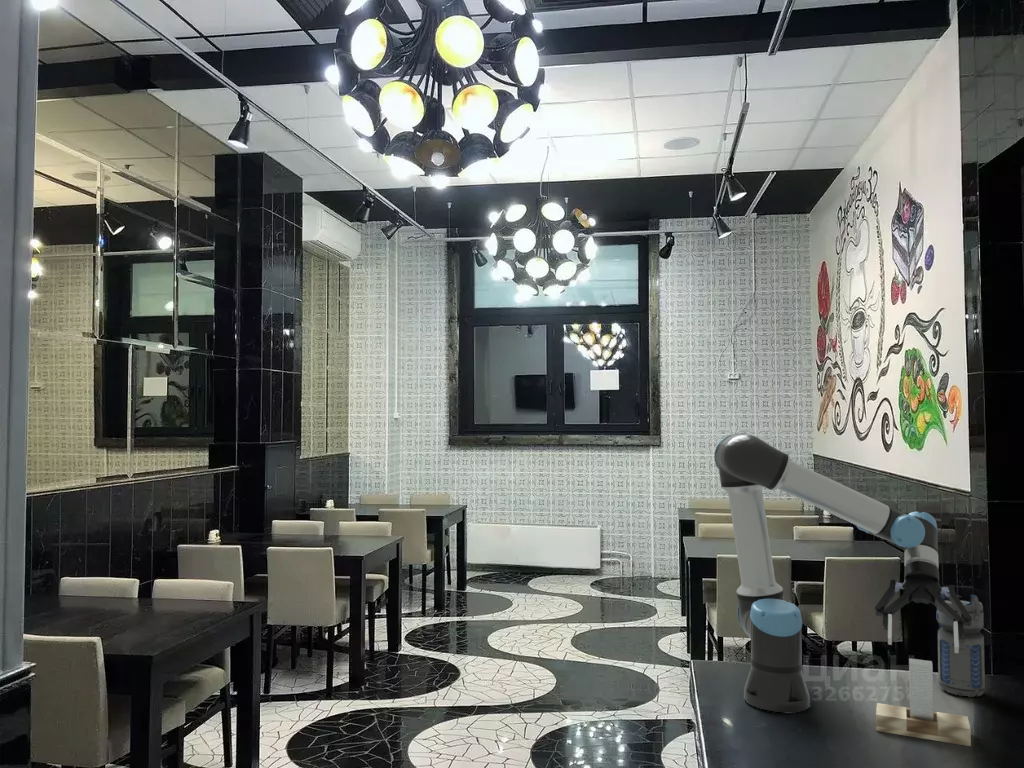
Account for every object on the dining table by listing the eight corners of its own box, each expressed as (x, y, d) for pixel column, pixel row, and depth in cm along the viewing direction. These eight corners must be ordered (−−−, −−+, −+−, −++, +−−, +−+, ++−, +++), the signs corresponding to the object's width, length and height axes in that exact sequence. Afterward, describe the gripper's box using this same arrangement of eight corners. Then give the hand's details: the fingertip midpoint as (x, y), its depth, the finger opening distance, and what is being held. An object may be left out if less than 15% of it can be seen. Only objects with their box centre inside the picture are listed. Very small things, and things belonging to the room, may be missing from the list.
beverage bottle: (955, 680, 206) (953, 584, 207) (997, 698, 193) (995, 595, 195) (922, 683, 204) (920, 586, 205) (962, 701, 191) (960, 597, 192)
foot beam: (876, 730, 173) (875, 714, 173) (877, 718, 180) (876, 702, 180) (970, 746, 165) (970, 729, 165) (967, 732, 172) (967, 716, 172)
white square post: (910, 728, 172) (909, 663, 172) (910, 722, 175) (909, 658, 176) (933, 732, 170) (932, 666, 170) (932, 725, 173) (931, 661, 174)
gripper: (979, 582, 191) (985, 662, 177) (866, 572, 202) (863, 646, 188) (980, 564, 186) (986, 644, 172) (865, 554, 198) (862, 629, 184)
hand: (922, 646), depth 180 cm, fingers open, 13 cm apart
